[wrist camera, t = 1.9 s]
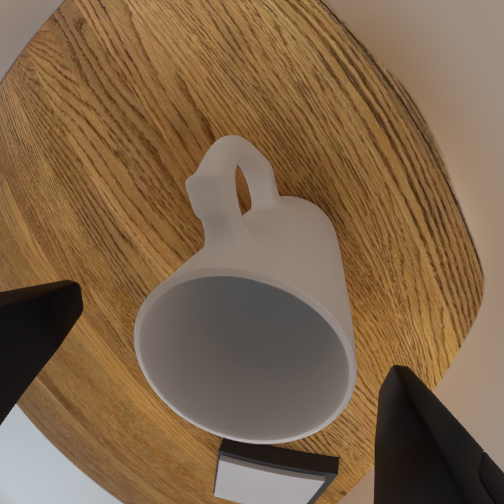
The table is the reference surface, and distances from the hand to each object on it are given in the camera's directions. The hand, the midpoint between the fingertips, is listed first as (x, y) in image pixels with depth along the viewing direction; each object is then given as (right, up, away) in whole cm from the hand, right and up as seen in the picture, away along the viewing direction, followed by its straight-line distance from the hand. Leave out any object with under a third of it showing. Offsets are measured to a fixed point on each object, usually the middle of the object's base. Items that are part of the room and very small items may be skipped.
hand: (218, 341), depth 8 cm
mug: (+3, +4, +11) cm, 13 cm away
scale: (+3, -23, +21) cm, 31 cm away
